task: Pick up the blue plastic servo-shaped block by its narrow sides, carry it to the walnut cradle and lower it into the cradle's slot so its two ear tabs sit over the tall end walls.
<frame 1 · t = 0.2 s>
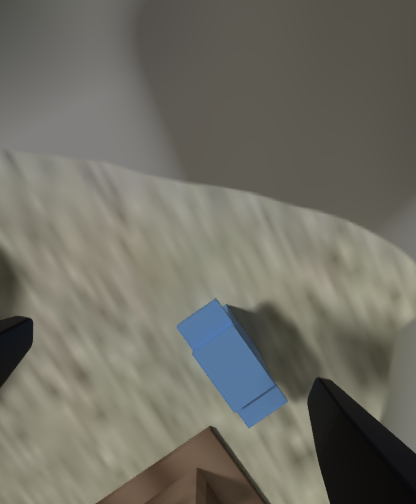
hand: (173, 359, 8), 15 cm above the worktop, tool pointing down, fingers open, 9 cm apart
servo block: (226, 336, 24), on the worktop
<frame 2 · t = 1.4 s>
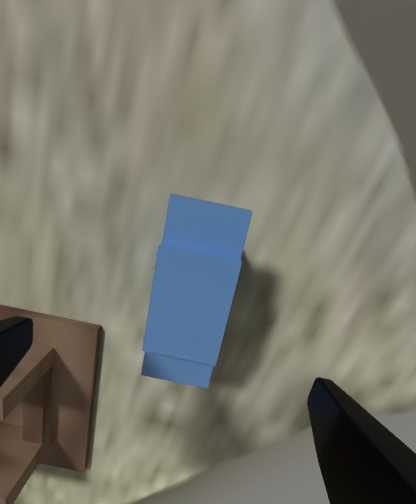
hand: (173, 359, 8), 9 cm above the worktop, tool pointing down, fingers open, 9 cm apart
cradle: (5, 384, 20), on the worktop
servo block: (199, 264, 17), on the worktop
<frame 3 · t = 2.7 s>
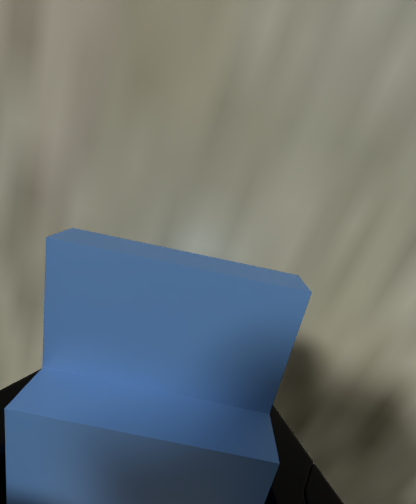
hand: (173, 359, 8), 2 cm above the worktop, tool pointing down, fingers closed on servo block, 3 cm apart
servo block: (180, 331, 10), on the worktop, touching gripper
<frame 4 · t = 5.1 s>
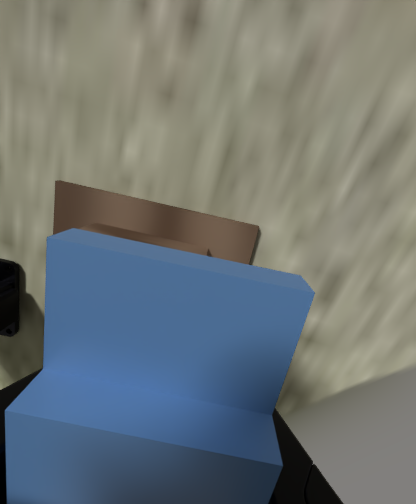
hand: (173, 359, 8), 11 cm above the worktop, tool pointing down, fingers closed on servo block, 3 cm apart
cradle: (144, 293, 20), on the worktop
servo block: (181, 331, 10), point 10 cm above the worktop, touching gripper
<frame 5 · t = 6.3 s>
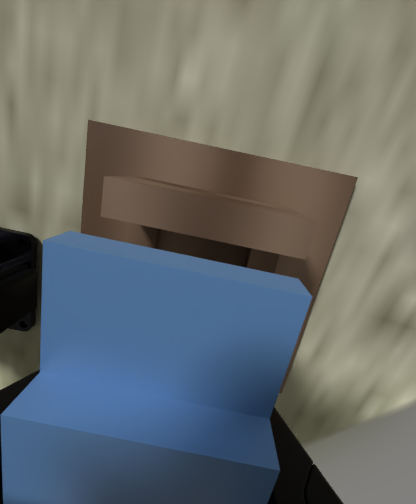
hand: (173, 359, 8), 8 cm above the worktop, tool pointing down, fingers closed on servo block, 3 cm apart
cradle: (198, 271, 16), on the worktop
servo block: (180, 332, 10), point 6 cm above the worktop, touching gripper
when the fingers open (3 cm above the worktop, at t = 7.4 s): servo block stays where it is, resting on cradle.
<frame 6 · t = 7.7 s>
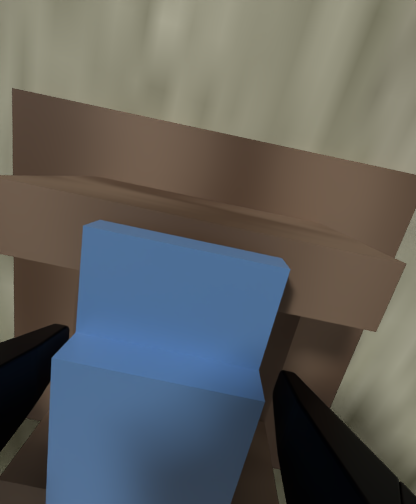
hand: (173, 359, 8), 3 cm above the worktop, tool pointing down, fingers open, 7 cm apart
cradle: (186, 311, 11), on the worktop
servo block: (183, 318, 11), resting on cradle
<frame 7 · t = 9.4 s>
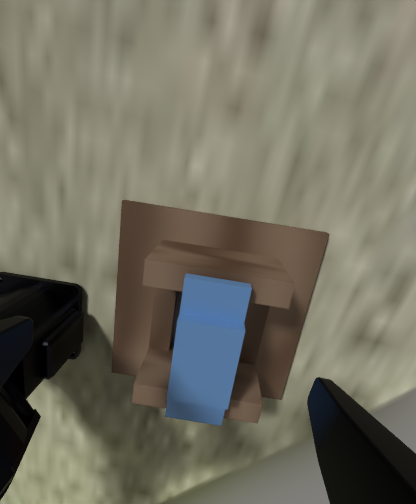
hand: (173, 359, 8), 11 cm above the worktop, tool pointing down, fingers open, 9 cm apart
cradle: (209, 306, 20), on the worktop
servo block: (208, 310, 19), resting on cradle
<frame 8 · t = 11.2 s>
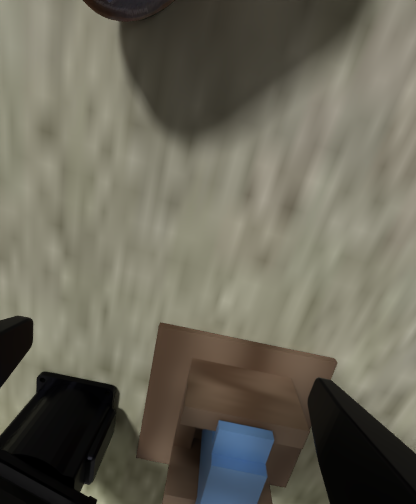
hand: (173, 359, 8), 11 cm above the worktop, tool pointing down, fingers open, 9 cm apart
cradle: (228, 409, 22), on the worktop
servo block: (227, 414, 22), resting on cradle
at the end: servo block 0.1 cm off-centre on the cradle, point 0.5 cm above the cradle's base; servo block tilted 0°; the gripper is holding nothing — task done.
